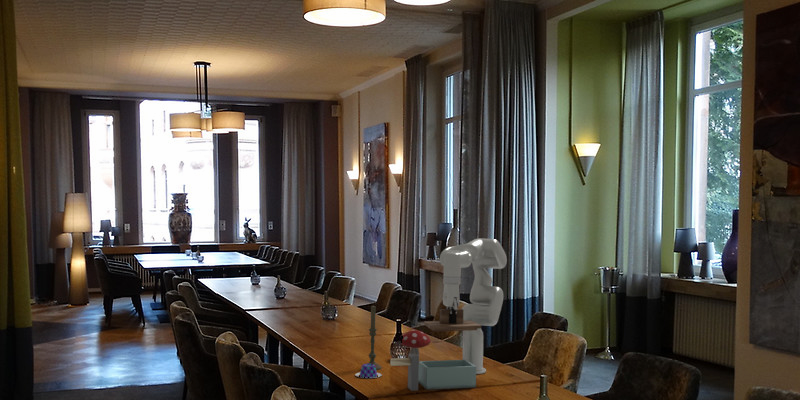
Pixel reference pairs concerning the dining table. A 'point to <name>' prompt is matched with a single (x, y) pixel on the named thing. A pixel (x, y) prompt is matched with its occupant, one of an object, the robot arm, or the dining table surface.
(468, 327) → the toolbox lid
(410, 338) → the decorative mushroom
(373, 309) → the candlestick holder
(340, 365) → the dining table surface
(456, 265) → the robot arm
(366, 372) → the pudding
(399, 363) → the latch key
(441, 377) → the toolbox
